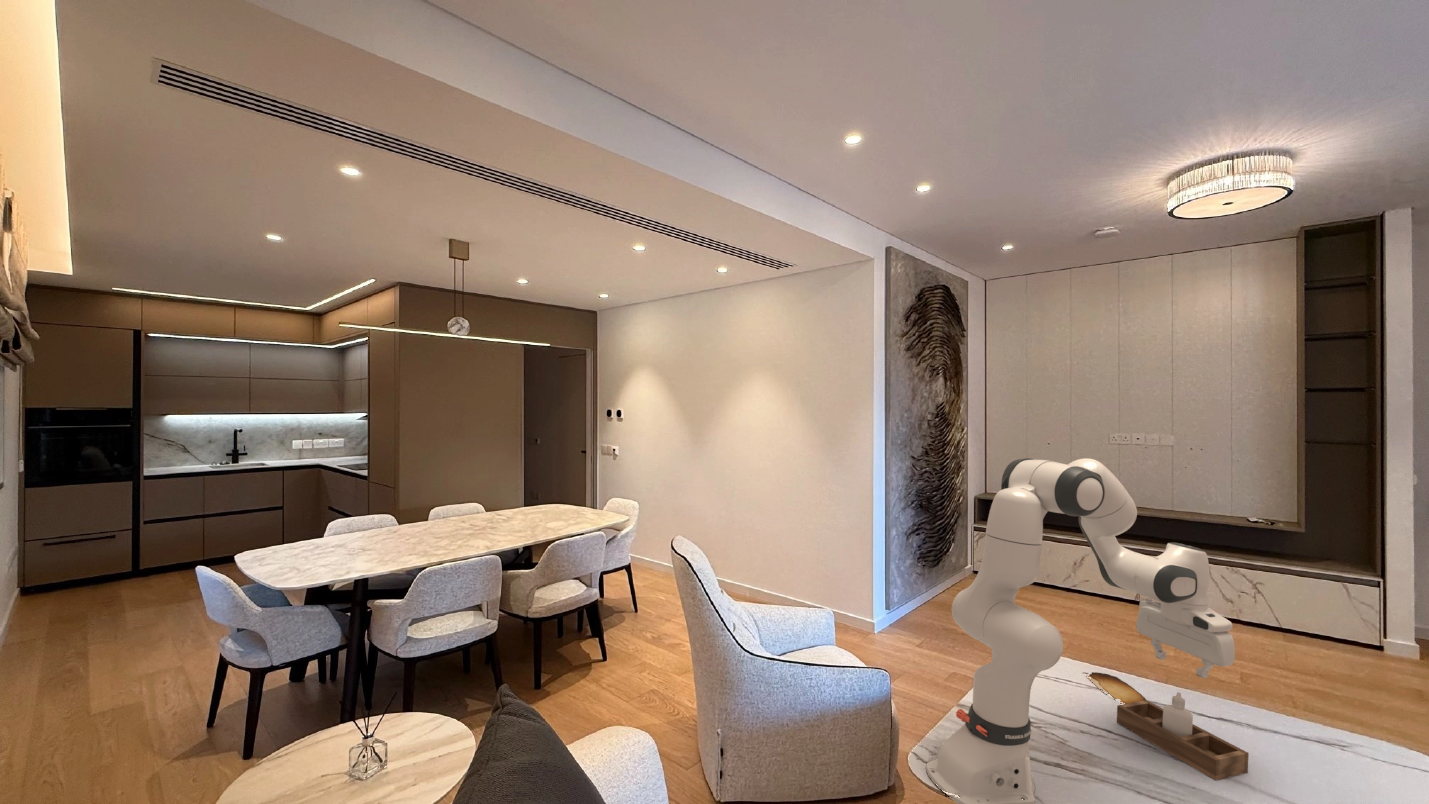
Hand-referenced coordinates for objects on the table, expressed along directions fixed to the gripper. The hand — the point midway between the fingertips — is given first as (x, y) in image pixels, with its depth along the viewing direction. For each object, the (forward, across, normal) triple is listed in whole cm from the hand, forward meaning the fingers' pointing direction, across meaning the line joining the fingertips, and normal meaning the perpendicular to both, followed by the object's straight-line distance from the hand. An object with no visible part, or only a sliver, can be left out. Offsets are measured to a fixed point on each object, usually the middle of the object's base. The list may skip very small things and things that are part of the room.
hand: (1180, 667), depth 139 cm
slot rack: (+19, 0, 0) cm, 19 cm away
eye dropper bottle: (+18, 0, 0) cm, 19 cm away
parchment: (+20, -22, +10) cm, 31 cm away
